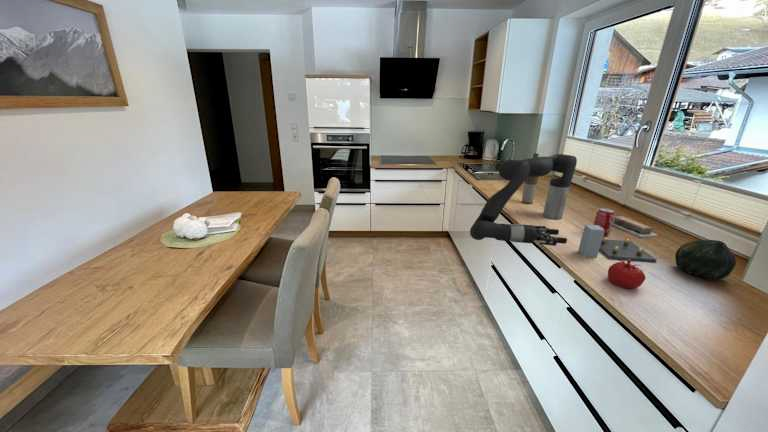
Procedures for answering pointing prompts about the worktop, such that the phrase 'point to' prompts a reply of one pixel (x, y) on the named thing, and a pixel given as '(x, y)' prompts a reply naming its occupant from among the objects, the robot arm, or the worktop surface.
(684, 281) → the worktop surface
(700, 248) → the squash
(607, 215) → the soda can
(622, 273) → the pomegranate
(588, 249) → the block
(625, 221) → the packaged product
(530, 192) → the bottle
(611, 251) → the plate
